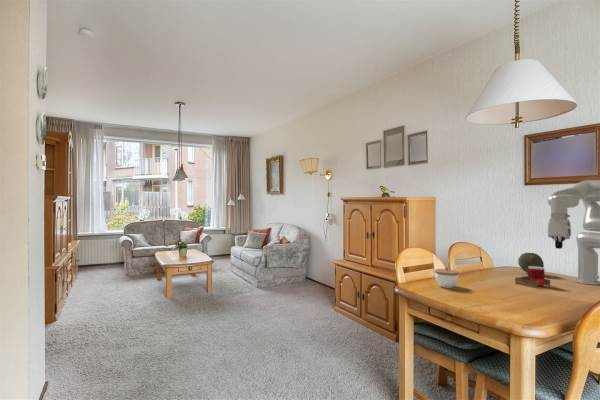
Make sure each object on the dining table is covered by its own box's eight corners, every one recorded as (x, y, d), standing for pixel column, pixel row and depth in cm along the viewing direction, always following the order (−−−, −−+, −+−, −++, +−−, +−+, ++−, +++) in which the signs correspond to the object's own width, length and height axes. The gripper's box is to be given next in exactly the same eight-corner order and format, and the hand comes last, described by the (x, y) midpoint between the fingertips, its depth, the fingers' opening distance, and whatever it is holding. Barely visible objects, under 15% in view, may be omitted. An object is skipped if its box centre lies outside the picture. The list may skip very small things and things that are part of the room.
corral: (529, 281, 208) (529, 275, 208) (550, 285, 197) (550, 280, 197) (515, 283, 202) (515, 277, 202) (536, 288, 191) (536, 282, 191)
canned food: (547, 287, 194) (547, 268, 194) (534, 287, 194) (534, 268, 194) (537, 283, 202) (537, 266, 202) (524, 283, 201) (525, 265, 201)
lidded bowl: (451, 290, 184) (452, 270, 184) (430, 285, 194) (430, 266, 194) (462, 287, 192) (462, 268, 192) (441, 282, 202) (441, 264, 202)
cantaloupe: (538, 273, 233) (538, 251, 233) (546, 277, 219) (547, 255, 219) (515, 271, 237) (515, 250, 237) (522, 275, 223) (522, 253, 223)
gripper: (578, 217, 184) (577, 249, 185) (548, 215, 198) (548, 246, 198) (570, 217, 181) (570, 250, 182) (541, 216, 195) (540, 247, 195)
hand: (558, 248), depth 190 cm, fingers closed
